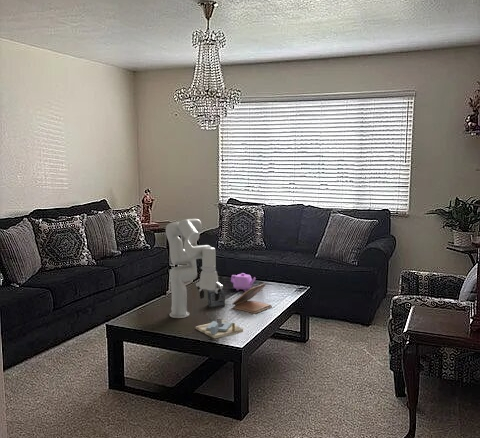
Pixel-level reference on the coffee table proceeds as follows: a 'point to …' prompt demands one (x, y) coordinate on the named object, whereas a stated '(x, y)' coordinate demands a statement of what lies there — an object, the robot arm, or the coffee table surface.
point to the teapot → (242, 281)
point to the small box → (213, 302)
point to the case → (251, 305)
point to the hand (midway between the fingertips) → (209, 298)
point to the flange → (214, 327)
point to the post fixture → (231, 330)
